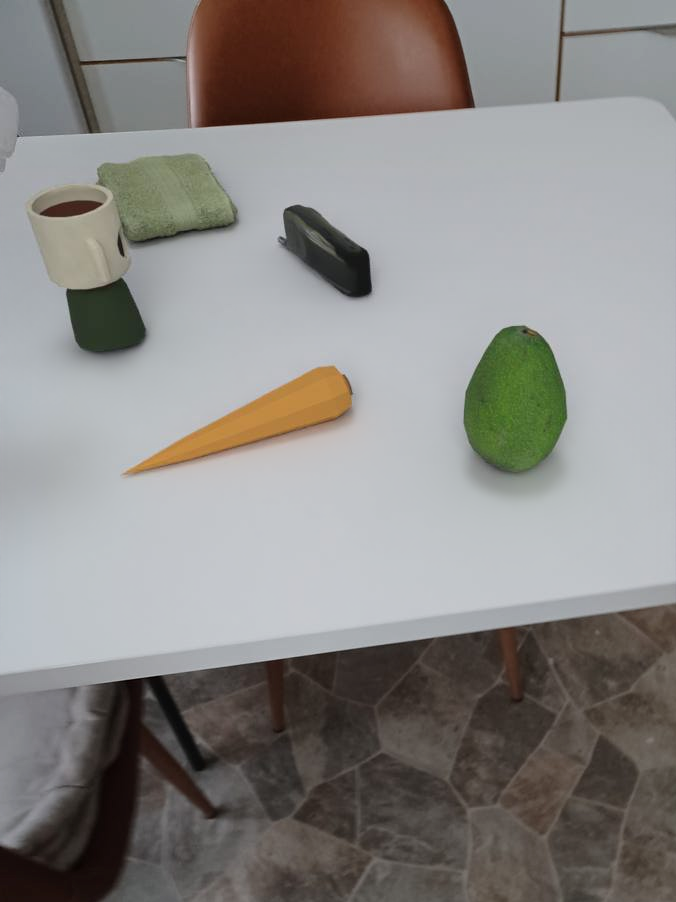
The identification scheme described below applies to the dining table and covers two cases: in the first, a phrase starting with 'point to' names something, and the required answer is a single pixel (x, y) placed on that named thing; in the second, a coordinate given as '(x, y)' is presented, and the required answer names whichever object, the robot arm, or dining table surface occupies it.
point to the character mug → (88, 262)
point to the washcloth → (166, 195)
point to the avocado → (515, 401)
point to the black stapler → (327, 250)
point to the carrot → (265, 417)
